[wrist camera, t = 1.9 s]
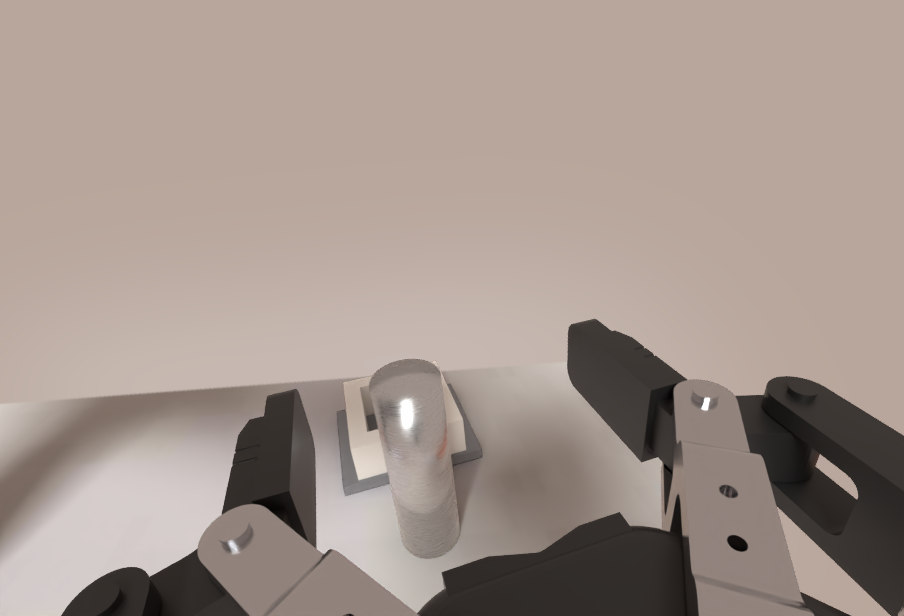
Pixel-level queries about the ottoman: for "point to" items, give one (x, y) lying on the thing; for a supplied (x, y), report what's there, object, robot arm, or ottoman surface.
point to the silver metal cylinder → (417, 454)
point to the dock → (364, 444)
